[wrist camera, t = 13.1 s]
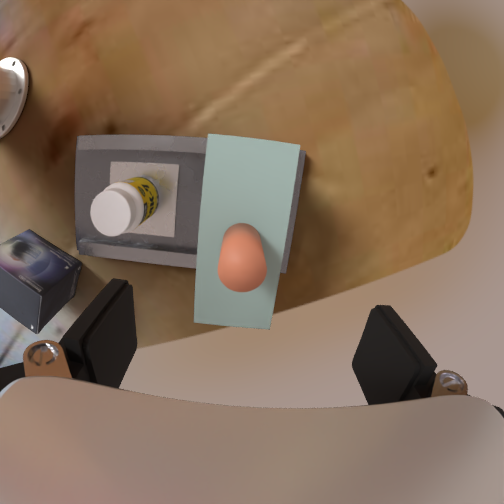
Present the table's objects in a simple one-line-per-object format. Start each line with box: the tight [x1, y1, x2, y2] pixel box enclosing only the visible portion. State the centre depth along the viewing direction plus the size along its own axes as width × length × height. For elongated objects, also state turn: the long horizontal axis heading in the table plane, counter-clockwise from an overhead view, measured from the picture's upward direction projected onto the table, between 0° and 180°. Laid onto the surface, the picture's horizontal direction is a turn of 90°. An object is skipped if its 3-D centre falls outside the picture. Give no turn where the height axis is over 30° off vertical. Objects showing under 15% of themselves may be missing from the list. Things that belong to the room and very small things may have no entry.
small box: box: [0, 229, 82, 334], centre depth 29 cm, size 11×6×10 cm, turn 61°
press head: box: [194, 134, 300, 329], centre depth 23 cm, size 6×14×15 cm, turn 173°
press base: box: [75, 135, 306, 273], centre depth 31 cm, size 26×14×3 cm, turn 83°
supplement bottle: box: [90, 177, 160, 236], centre depth 26 cm, size 5×5×8 cm
